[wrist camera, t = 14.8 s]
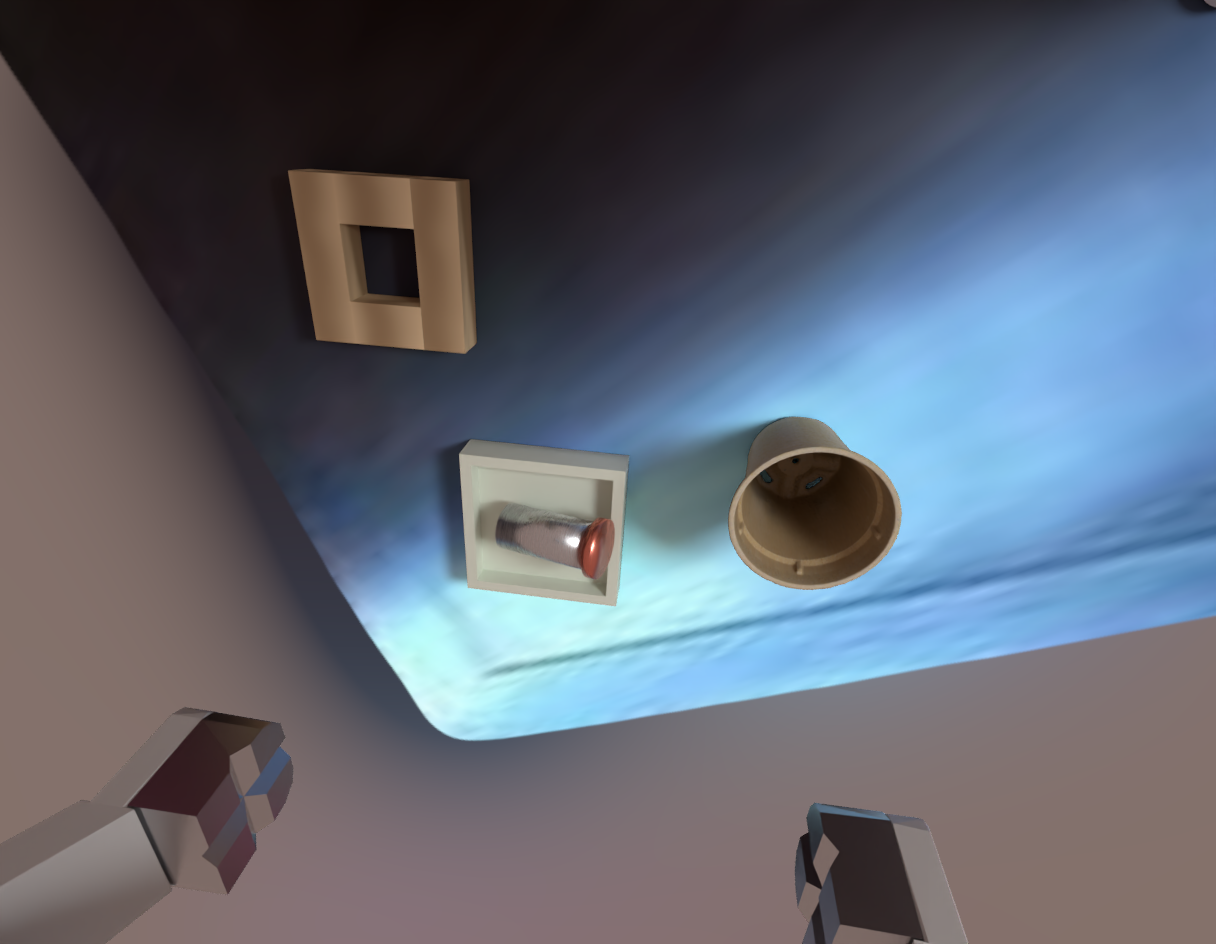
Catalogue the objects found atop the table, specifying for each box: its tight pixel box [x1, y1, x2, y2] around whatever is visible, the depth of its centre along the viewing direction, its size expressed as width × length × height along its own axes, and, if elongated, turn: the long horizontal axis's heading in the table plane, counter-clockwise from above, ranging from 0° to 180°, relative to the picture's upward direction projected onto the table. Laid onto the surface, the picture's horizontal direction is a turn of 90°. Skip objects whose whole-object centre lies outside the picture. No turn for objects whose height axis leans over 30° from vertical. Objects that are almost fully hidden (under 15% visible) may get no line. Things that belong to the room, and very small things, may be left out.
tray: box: [459, 439, 629, 606], centre depth 47 cm, size 12×12×2 cm
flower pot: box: [728, 417, 902, 590], centre depth 40 cm, size 9×9×9 cm
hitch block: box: [288, 169, 477, 354], centre depth 40 cm, size 10×10×2 cm
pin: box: [495, 503, 615, 580], centre depth 45 cm, size 4×4×8 cm
